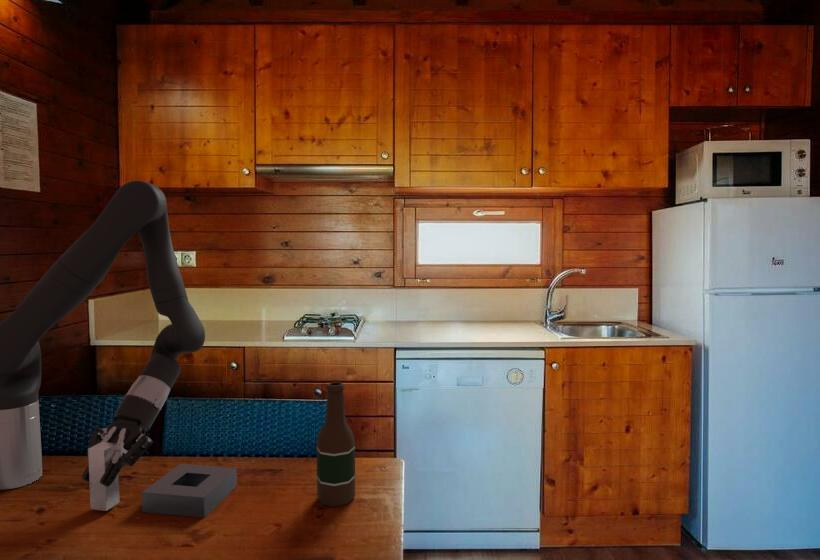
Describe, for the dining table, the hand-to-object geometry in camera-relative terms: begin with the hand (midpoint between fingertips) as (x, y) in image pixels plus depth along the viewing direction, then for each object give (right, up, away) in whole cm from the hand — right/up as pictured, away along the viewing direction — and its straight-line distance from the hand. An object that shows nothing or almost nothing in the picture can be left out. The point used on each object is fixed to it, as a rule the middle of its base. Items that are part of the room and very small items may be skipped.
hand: (95, 482), depth 103 cm
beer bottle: (+45, -6, +7) cm, 46 cm away
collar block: (+16, -6, +7) cm, 18 cm away
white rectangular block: (+1, -5, +2) cm, 6 cm away
